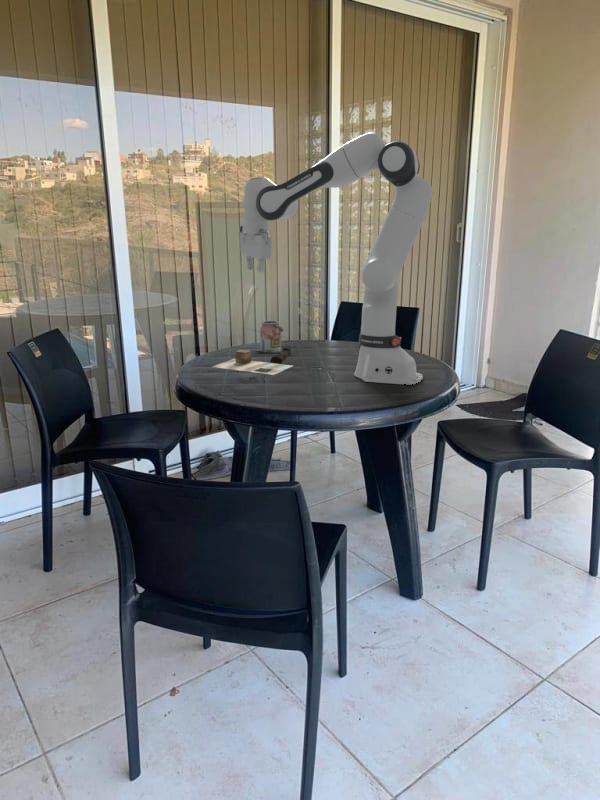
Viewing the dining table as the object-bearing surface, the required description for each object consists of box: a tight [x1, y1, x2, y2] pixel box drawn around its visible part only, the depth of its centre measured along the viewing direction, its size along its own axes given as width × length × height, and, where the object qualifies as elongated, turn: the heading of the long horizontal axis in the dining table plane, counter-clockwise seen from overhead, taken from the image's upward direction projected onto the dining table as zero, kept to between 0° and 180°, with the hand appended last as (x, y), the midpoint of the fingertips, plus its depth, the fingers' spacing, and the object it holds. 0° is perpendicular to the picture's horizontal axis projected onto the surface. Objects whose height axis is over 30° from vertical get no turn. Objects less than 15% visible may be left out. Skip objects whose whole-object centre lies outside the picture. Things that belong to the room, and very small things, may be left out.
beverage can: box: [259, 320, 285, 354], centre depth 227 cm, size 9×8×12 cm
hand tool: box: [270, 345, 292, 364], centre depth 213 cm, size 19×4×5 cm, turn 164°
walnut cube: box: [234, 349, 252, 364], centre depth 203 cm, size 4×4×4 cm
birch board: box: [211, 358, 294, 380], centre depth 198 cm, size 24×15×2 cm, turn 65°
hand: (255, 270), depth 197 cm, fingers open, 8 cm apart
